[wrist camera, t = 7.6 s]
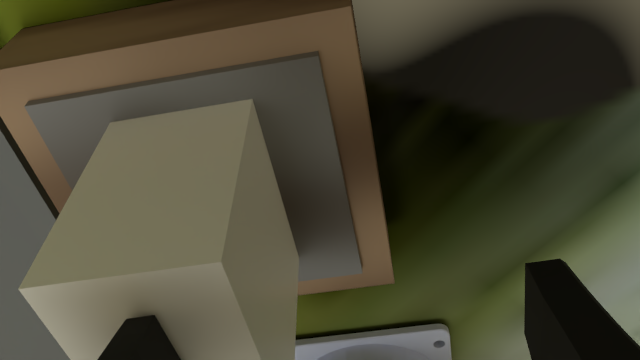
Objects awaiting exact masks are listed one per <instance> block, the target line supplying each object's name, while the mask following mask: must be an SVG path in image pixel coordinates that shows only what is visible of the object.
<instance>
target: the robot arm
mask: <svg viewBox="0 0 640 360" xmlns="http://www.w3.org/2000/svg"><path fill="white" fill-rule="evenodd" d="M524 333H525V337H526V340H527V344H528V348H529V351H530V355H531V359H532V360H640V346H639V345H638V344H637V343H636V342H635V341H634V340H633V339H632V338H631V337H630V336H629V335H628V334H627V333H626V332H625V331H624V330H623V329H622V328H621V326H620V325H619V324H618V323H617V322H616V321H615V320H614V319H613V318H612V317H611V316H610V314H609V313H608V312H607V311H606V310H605V309H604V308H603V307H602V305H601V304H600V303H599V302H598V301H597V300H596V299H595V298H594V296H593V295H592V294H591V293H590V292H589V291H588V289H587V288H586V287H585V286H584V285H583V283H582V282H581V281H580V280H579V279H578V277H577V276H576V275H575V274H574V272H573V271H572V270H571V269H570V267H569V266H568V265H567V264H566V262H564V261H563V260H561V259H554V260H547V261H540V262H532V263H525V330H524ZM97 360H181V359H180V357H179V356H178V354H177V352H176V350H175V349H174V347H173V345H172V344H171V342H170V340H169V339H168V337H167V335H166V333H165V332H164V330H163V328H162V327H161V325H160V323H159V321H158V320H157V318H156V316H155V315H150V316H143V317H136V318H129V319H126V320H125V321H124V322H123V324H122V325H121V327H120V328H119V329H118V331H117V332H116V334H115V335H114V336H113V338H112V339H111V341H110V342H109V344H108V345H107V346H106V348H105V349H104V351H103V352H102V354H101V355H100V356H99V358H98V359H97ZM295 360H452V357H451V344H450V334H449V329H448V327H447V326H446V325H443V324H429V325H420V326H412V327H403V328H394V329H386V330H377V331H369V332H360V333H352V334H343V335H334V336H326V337H317V338H309V339H300V340H295Z"/></svg>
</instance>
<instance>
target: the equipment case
mask: <svg viewBox="0 0 640 360" xmlns="http://www.w3.org/2000/svg"><path fill="white" fill-rule="evenodd" d="M59 214H60V213H59V212H58V210H57V209H56V207H55V205H54V204H53V202H52V200H51V199H50V197H49V195H48V194H47V192H46V190H45V189H44V187H43V185H42V184H41V182H40V180H39V179H38V177H37V176H36V174H35V172H34V171H33V169H32V167H31V166H30V164H29V162H28V161H27V159H26V157H25V156H24V154H23V152H22V151H21V149H20V148H19V146H18V144H17V143H16V141H15V139H14V138H13V136H12V134H11V133H10V131H9V129H8V128H7V126H6V124H5V123H4V121H3V120H2V118H1V116H0V360H70V358H69V357H68V356H67V354H66V353H65V352H64V350H63V349H62V348H61V346H60V345H59V343H58V342H57V341H56V339H55V338H54V337H53V335H52V334H51V333H50V331H49V330H48V329H47V327H46V326H45V325H44V323H43V322H42V321H41V319H40V318H39V317H38V315H37V314H36V312H35V311H34V310H33V308H32V307H31V306H30V304H29V303H28V302H27V300H26V299H25V298H24V296H23V295H22V294H21V292H20V291H19V290H18V289H19V287H20V285H21V283H22V281H23V280H24V278H25V276H26V274H27V272H28V270H29V269H30V267H31V265H32V263H33V261H34V260H35V258H36V256H37V254H38V252H39V251H40V249H41V247H42V245H43V243H44V241H45V240H46V238H47V236H48V234H49V232H50V231H51V229H52V227H53V225H54V223H55V222H56V220H57V218H58V216H59Z"/></svg>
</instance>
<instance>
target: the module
mask: <svg viewBox="0 0 640 360" xmlns="http://www.w3.org/2000/svg"><path fill="white" fill-rule="evenodd" d="M298 269H299V256H298V253H297V249H296V246H295V242H294V239H293V236H292V232H291V229H290V225H289V222H288V219H287V215H286V212H285V208H284V205H283V202H282V198H281V195H280V191H279V188H278V184H277V181H276V178H275V174H274V171H273V167H272V164H271V161H270V157H269V154H268V150H267V147H266V144H265V140H264V137H263V133H262V130H261V127H260V123H259V120H258V116H257V113H256V110H255V106H254V103H253V99H248V100H242V101H236V102H230V103H224V104H218V105H212V106H206V107H200V108H194V109H188V110H182V111H176V112H170V113H164V114H158V115H152V116H146V117H140V118H134V119H128V120H122V121H116V122H110V124H109V125H108V127H107V129H106V131H105V133H104V134H103V136H102V138H101V140H100V142H99V143H98V145H97V147H96V149H95V151H94V153H93V154H92V156H91V158H90V160H89V162H88V163H87V165H86V167H85V169H84V171H83V173H82V174H81V176H80V178H79V180H78V182H77V183H76V185H75V187H74V189H73V191H72V192H71V194H70V196H69V198H68V200H67V202H66V203H65V205H64V207H63V209H62V211H61V212H60V214H59V216H58V218H57V220H56V222H55V223H54V225H53V227H52V229H51V231H50V232H49V234H48V236H47V238H46V240H45V241H44V243H43V245H42V247H41V249H40V251H39V252H38V254H37V256H36V258H35V260H34V261H33V263H32V265H31V267H30V269H29V270H28V272H27V274H26V276H25V278H24V280H23V281H22V283H21V285H20V287H19V289H18V290H19V291H20V292H21V294H22V295H23V296H24V298H25V299H26V300H27V302H28V303H29V304H30V306H31V307H32V308H33V310H34V311H35V312H36V314H37V315H38V317H39V318H40V319H41V321H42V322H43V323H44V325H45V326H46V327H47V329H48V330H49V331H50V333H51V334H52V335H53V337H54V338H55V339H56V341H57V342H58V343H59V345H60V346H61V348H62V349H63V350H64V352H65V353H66V354H67V356H68V357H69V358H70V360H97V359H98V358H99V356H100V355H101V354H102V352H103V351H104V349H105V348H106V346H107V345H108V344H109V342H110V341H111V339H112V338H113V336H114V335H115V334H116V332H117V331H118V329H119V328H120V327H121V325H122V324H123V322H124V321H125V320H126V319H129V318H136V317H143V316H150V315H155V316H156V318H157V320H158V321H159V323H160V325H161V327H162V328H163V330H164V332H165V333H166V335H167V337H168V339H169V340H170V342H171V344H172V345H173V347H174V349H175V350H176V352H177V354H178V356H179V357H180V359H181V360H295V339H296V316H297V293H298Z"/></svg>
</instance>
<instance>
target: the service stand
mask: <svg viewBox="0 0 640 360" xmlns="http://www.w3.org/2000/svg"><path fill="white" fill-rule="evenodd" d="M248 99H253V103H254V106H255V110H256V113H257V116H258V120H259V123H260V127H261V130H262V133H263V137H264V140H265V144H266V147H267V150H268V154H269V157H270V161H271V164H272V167H273V171H274V174H275V178H276V181H277V184H278V188H279V191H280V195H281V198H282V202H283V205H284V208H285V212H286V215H287V219H288V222H289V225H290V229H291V232H292V236H293V239H294V242H295V246H296V249H297V253H298V256H299V269H298V293H297V295H305V294H312V293H320V292H328V291H336V290H344V289H352V288H360V287H368V286H376V285H384V284H392V283H395V282H394V274H393V267H392V259H391V252H390V245H389V237H388V230H387V223H386V216H385V210H384V204H383V197H382V191H381V184H380V178H379V172H378V165H377V159H376V152H375V146H374V140H373V133H372V127H371V120H370V114H369V108H368V101H367V95H366V89H365V82H364V76H363V69H362V63H361V57H360V50H359V44H358V38H357V31H356V25H355V19H354V13H353V5H352V0H172V1H167V2H161V3H156V4H151V5H145V6H140V7H135V8H129V9H124V10H119V11H114V12H108V13H103V14H98V15H92V16H87V17H82V18H77V19H71V20H66V21H61V22H55V23H50V24H45V25H40V26H34V27H29V28H24V29H21V30H20V31H19V32H18V33H17V34H16V35H15V36H14V37H13V38H12V39H11V40H10V41H9V42H8V43H7V44H6V45H5V46H4V47H3V48H2V49H1V50H0V116H1V118H2V120H3V121H4V123H5V124H6V126H7V128H8V129H9V131H10V133H11V134H12V136H13V138H14V139H15V141H16V143H17V144H18V146H19V148H20V149H21V151H22V152H23V154H24V156H25V157H26V159H27V161H28V162H29V164H30V166H31V167H32V169H33V171H34V172H35V174H36V176H37V177H38V179H39V180H40V182H41V184H42V185H43V187H44V189H45V190H46V192H47V194H48V195H49V197H50V199H51V200H52V202H53V204H54V205H55V207H56V209H57V210H58V212H59V213H60V212H61V211H62V209H63V207H64V205H65V203H66V202H67V200H68V198H69V196H70V194H71V192H72V191H73V189H74V187H75V185H76V183H77V182H78V180H79V178H80V176H81V174H82V173H83V171H84V169H85V167H86V165H87V163H88V162H89V160H90V158H91V156H92V154H93V153H94V151H95V149H96V147H97V145H98V143H99V142H100V140H101V138H102V136H103V134H104V133H105V131H106V129H107V127H108V125H109V124H110V122H116V121H122V120H128V119H134V118H140V117H146V116H152V115H158V114H164V113H170V112H176V111H182V110H188V109H194V108H200V107H206V106H212V105H218V104H224V103H230V102H236V101H242V100H248Z"/></svg>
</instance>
